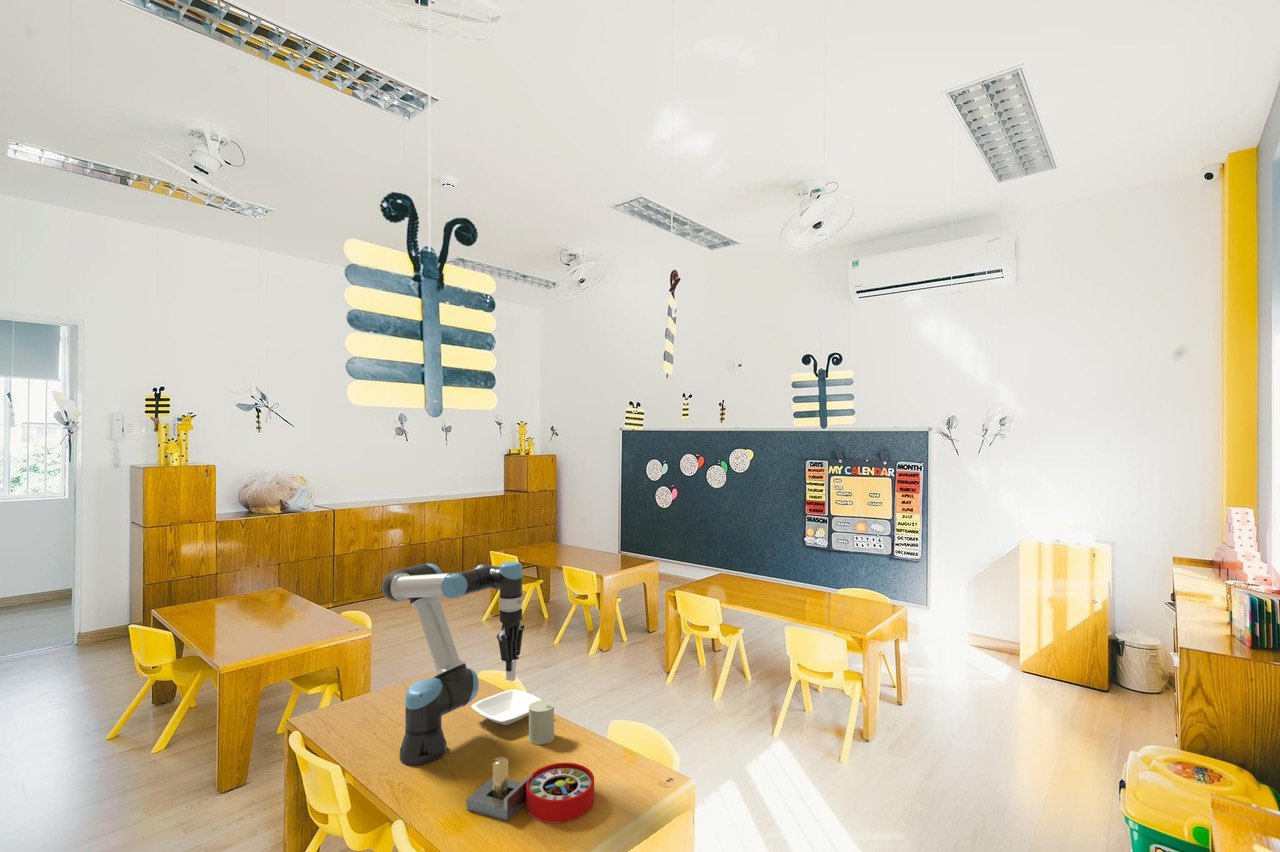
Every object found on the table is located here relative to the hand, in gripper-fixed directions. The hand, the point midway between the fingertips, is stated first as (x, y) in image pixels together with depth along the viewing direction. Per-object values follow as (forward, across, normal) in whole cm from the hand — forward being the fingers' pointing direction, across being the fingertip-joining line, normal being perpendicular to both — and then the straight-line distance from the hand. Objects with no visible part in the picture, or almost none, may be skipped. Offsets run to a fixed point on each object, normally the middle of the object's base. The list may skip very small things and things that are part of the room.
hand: (510, 679), depth 196 cm
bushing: (+26, -21, -11) cm, 35 cm away
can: (+27, +16, -2) cm, 31 cm away
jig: (+26, -21, -11) cm, 35 cm away
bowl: (+27, +24, +18) cm, 40 cm away
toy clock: (+27, -14, -27) cm, 40 cm away
